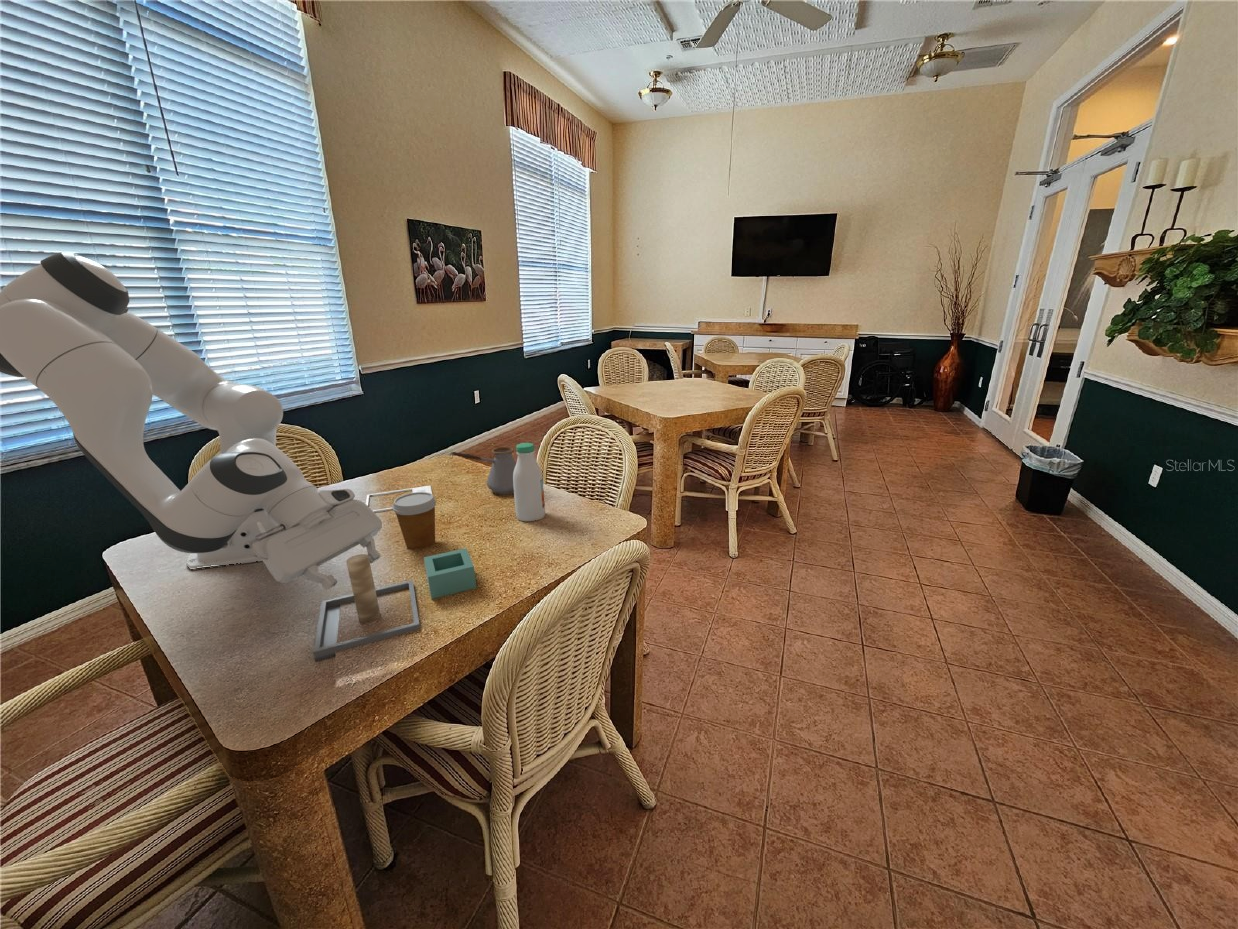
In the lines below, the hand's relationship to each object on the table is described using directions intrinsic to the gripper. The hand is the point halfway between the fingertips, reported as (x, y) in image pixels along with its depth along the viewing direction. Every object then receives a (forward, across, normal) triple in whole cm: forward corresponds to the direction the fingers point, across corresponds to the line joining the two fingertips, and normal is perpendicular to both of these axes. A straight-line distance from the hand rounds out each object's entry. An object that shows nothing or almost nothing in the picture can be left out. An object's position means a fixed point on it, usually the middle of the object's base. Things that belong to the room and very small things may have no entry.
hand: (355, 572), depth 88 cm
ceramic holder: (+13, +14, 0) cm, 19 cm away
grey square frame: (+8, -1, +5) cm, 9 cm away
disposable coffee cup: (0, +26, +14) cm, 30 cm away
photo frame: (-19, +47, +33) cm, 61 cm away
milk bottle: (+11, +49, +2) cm, 50 cm away
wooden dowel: (+8, -1, +5) cm, 9 cm away
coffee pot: (-3, +60, +16) cm, 62 cm away
